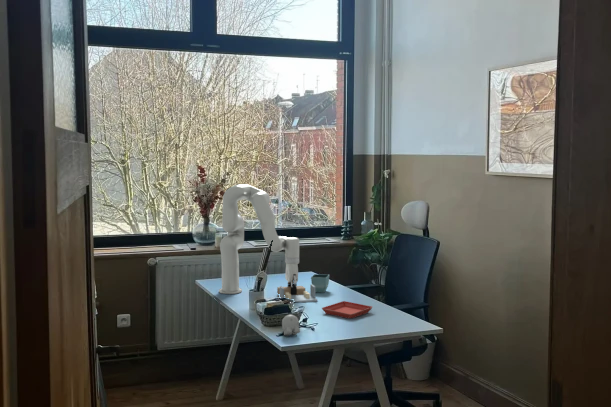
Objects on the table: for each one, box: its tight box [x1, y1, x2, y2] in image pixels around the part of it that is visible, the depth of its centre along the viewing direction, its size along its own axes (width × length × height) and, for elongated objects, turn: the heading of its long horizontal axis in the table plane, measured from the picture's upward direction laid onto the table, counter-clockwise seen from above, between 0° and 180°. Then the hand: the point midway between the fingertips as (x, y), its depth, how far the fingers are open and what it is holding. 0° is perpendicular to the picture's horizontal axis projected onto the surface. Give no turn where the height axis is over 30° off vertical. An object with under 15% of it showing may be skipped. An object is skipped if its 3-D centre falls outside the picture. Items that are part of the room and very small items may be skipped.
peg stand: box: [279, 283, 318, 303], centre depth 336 cm, size 13×18×7 cm
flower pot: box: [310, 273, 330, 293], centre depth 355 cm, size 9×9×9 cm
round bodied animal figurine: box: [281, 314, 301, 337], centre depth 274 cm, size 7×12×8 cm, turn 19°
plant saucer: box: [321, 300, 373, 320], centre depth 309 cm, size 18×18×3 cm
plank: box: [276, 285, 306, 295], centre depth 346 cm, size 6×14×4 cm, turn 108°
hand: (292, 292), depth 347 cm, fingers closed on plank, 6 cm apart
